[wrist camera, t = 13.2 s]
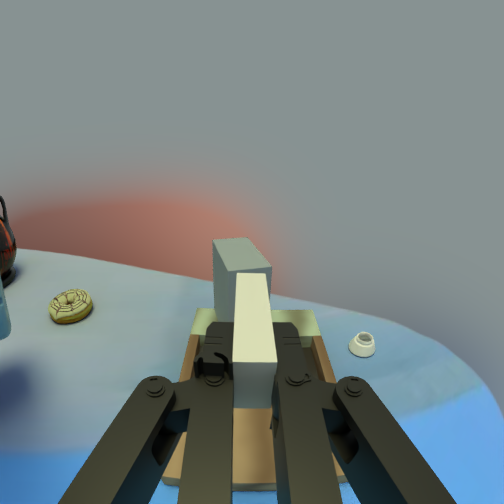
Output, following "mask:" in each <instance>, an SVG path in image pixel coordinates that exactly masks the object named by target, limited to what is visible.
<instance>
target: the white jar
mask: <svg viewBox="0 0 504 504" xmlns="http://www.w3.org/2000/svg"><path fill="white" fill-rule="evenodd" d="M349 349H350V351H351V352H352V353H353V354H355V355H357V356H360V357H368V356H371V355H373V354H374V352H375V344H374V340H373V336H372V335H371V334H369V333H366V332H361V333H359V334H358V335H357V336H355V337H354V338H353V339H352V340H351V341H350V343H349Z"/></svg>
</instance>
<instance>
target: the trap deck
mask: <svg viewBox="0 0 504 504" xmlns="http://www.w3.org/2000/svg"><path fill="white" fill-rule="evenodd" d="M271 318H272V322H292V323H293V324H294V326H295V327H296V328H297V329H298V332H299V337H300V341H301V345H302V349H303V353H304V357H305V361H306V365H307V369H308V371H309V372H311V373H312V375H313V377H315V378H316V379H319V380H321V381H325V382H330V383H336V384H337V382H336V379H335V376H334V373H333V370H332V367H331V364H330V361H329V358H328V355H327V352H326V349H325V345H324V343H323V340H322V337H321V334H320V331H319V328H318V325H317V322H316V319H315V316H314V313H313V310H271ZM212 321H213V322H218V319H217V316H216V313H215V309H206V308H197V310H196V314H195V318H194V322H193V326H192V330H191V334H190V338H189V341H188V345H187V350H186V354H185V358H184V362H183V366H182V370H181V374H180V378H179V382H182V381H186V380H189V379H191V378H193V377H194V376H195V372H194V365H193V361H194V359H195V357H196V356H197V355H198V354H199V353H201V352H203V346H204V340H205V335H206V329H207V327H208V326H209V325H210V324H211V323H212ZM233 414H234V423H233V485H232V491H276V490H277V487H276V474H275V461H274V449H273V436H272V429H270V424H271V418H272V404H271V408H267V409H244V408H234V412H233ZM186 434H187V432H183V434H182V436H181V438H180V440H179V442H178V445H177V447H176V449H175V451H174V453H173V455H172V457H171V459H170V461H169V463H168V465H167V467H166V469H165V471H164V473H163V475H162V477H161V480H162V481H163V483H164V484H166V485H172V486H179V485H180V477H181V470H182V462H183V455H184V448H185V441H186ZM332 456H333V460H334V465H335V469H336V474H337V479H338V483H345V482H348V480H347V478H346V476H345V475H344V473H343V471H342V469H341V467H340V466H339V464H338V462H337V460H336V458H335V456H334V455H333V453H332Z"/></svg>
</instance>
